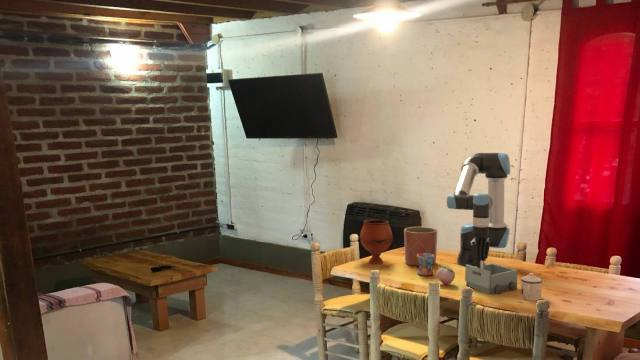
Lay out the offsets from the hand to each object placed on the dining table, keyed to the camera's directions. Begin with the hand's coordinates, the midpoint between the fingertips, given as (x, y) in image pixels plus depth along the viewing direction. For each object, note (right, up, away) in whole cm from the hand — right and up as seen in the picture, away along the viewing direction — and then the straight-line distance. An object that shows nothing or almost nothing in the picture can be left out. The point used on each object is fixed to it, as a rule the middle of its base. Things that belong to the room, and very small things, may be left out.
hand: (480, 273), depth 254 cm
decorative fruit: (-14, -8, +10) cm, 19 cm away
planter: (-19, -3, +52) cm, 56 cm away
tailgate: (-1, -5, 0) cm, 5 cm away
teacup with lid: (+19, -9, -14) cm, 25 cm away
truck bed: (+7, -8, +5) cm, 12 cm away
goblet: (-45, -4, +55) cm, 71 cm away
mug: (-20, -6, +30) cm, 36 cm away
